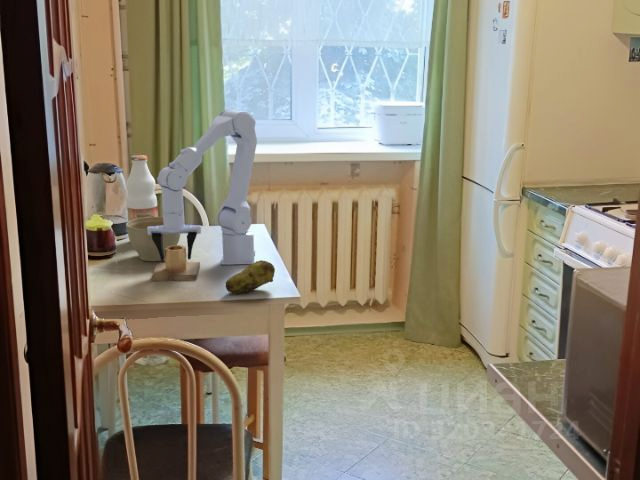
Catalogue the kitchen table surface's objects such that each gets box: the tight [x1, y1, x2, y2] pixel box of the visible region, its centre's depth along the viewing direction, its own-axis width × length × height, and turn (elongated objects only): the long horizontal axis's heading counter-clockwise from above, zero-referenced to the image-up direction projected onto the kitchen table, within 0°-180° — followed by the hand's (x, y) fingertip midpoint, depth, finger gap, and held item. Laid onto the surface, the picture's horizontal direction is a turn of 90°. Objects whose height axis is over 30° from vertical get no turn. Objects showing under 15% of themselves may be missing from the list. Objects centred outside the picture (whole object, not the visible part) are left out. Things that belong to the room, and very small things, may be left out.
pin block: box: [151, 261, 201, 282], centre depth 220 cm, size 12×12×6 cm
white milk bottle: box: [125, 154, 159, 244], centre depth 250 cm, size 9×9×28 cm
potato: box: [225, 259, 276, 295], centre depth 205 cm, size 8×13×8 cm, turn 95°
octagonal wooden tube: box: [164, 244, 188, 272], centre depth 220 cm, size 6×6×6 cm
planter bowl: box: [125, 216, 181, 262], centre depth 235 cm, size 16×16×11 cm
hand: (176, 258), depth 220 cm, fingers open, 7 cm apart
